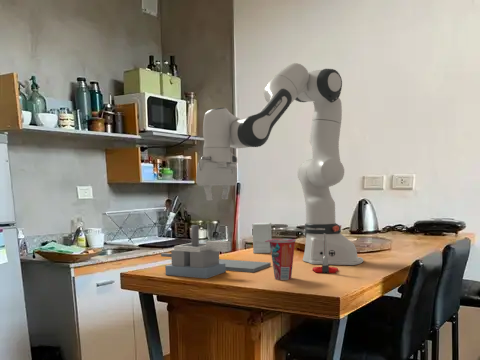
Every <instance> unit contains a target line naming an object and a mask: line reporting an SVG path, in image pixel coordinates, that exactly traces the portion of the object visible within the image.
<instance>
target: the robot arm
mask: <svg viewBox="0 0 480 360" xmlns="http://www.w3.org/2000/svg"><path fill="white" fill-rule="evenodd" d="M342 86H343V80H342V77H341V75H340V73H339V71H338V70H337V69H333V68H323V69H316V70H311V71H310V72H309V71H308V69H307V68H306V66H304V65H303V64H301V63H296V62H294V63H290V64H288V65H287V66H286V67H284V68H283V69H281V70H280V71H279V72H278V73H276V74H275V75H274V76H273V77H272V78H271V79H270V80H269V81H268V83H267V85H266V86H265V87H264V89H263V96H264V99H265V101H266V104H265V105H264V106H263V107H262V108H261V110H260V111H259V112H258V113H256V114H252V115H250V116H247V117H244V118H239V117H237V116H235V115H234V114H232V112H230V111H229V110H228V108H227V107H216V108H212V109H209V110H207V111H206V112H205V113H204V116H203V124H202V136H203V140H204V143H203V149H202V152H203V153H202V156H201V157H200V159H198V163H197V166H196V174H195V175H196V176H195V181H196V182H195V183H196V184H197V186H198V187H203V190H204V194H205V198H206V199H205V200H206V201H214V194H213V193H212V192H213V191H212V190H213V188H212V187H214V186H216V187H217V186H221V187H222V190H223V191H222V193H221V200H228V199H229V193H230V191H231V186H236V184H237V181H238V168H237V165H236V164H237V163H238V157H237V156H236V155H235V154H233V152H231V148H232V149H245V148H258V147H259V148H260V147H262V146H263V145H264V144H266V142H267V141H268V140H269V137H270V135H271V132H272V130H273V128H274V126H275V125H276V123H277V122H279V120H280V119H281V117H282V116H283V115H284V113H285V112H286V111H287V110H288V108H289V107H290V105H291V104H292V103H294V101H296V102H300V103H307V102H311V103H312V104H313V105H314V106H313V107H314V109H313V114H312V121H311V127H310V132H309V133H310V134H309V143H310V145H311V150H312V153H311V154H312V159H308V160H306V161H304V162H303V163H301V164H300V165H299V167H298V168H297V178H298V181H299V182H300V184H301V187H302V188H301V189H302V192H303V196H304V202H305V224H304V235H305V236H304V237H305V243H304V244H305V246H304V253H303V257H302V261H303V262H305V263H309V264H312V265H323V240H324V234H326V240H327V257H328V265H337V266H340V265H341V266H354V265H360V264H362V263H363V262H364V258H363V257H360V256H358V252H357V251H358V250H357V247H356V245H355V244H354V242H352V241H351V240H350V239H348V238H347V237H346V236H344V235H343V234H342V233H341V231H342V225H340V224H338V223H336V203H335V199H333V196H332V195H331V191H330V190H331V189H330V187H333V186H335V185H337V184H339V183H340V182H341V181H342V180H343V178H344V177H345V168H344V165H343V163H342V161H341V158H340V148H339V147H340V145H339V143H340V142H339V141H340V134H341V127H342V126H341V125H342V118H343V117H342V112H343V109H342V101H341V99H340V97H341V92H342V88H343V87H342Z"/></svg>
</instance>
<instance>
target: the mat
mask: <svg viewBox="0 0 480 360" xmlns="http://www.w3.org/2000/svg"><path fill="white" fill-rule="evenodd" d="M219 263H225V271H228V270H229V271H231V272H241V271H242V273H243V272H244V273H255V272H258V271H261V270H264V269H266V268H268V267H271V264H272V263H271V262H269V261H268V262H267V261H253V260H239V259H238V260H237V259H223V258H222V259H221V258H219Z"/></svg>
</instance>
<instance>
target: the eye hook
mask: <svg viewBox="0 0 480 360" xmlns="http://www.w3.org/2000/svg"><path fill="white" fill-rule="evenodd" d="M173 250H174V251H188V252H203V251H219V252H221V253H222V252H223V253H228V252H232V242H231V241H226V240H225V241H224V240H208V241H207V240H206V241H205V243H203V242H199V247H193V246H192V242H189V243H184V244H183V243H182V244H179V245H174V246H173Z"/></svg>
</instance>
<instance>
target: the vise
mask: <svg viewBox="0 0 480 360" xmlns="http://www.w3.org/2000/svg"><path fill="white" fill-rule="evenodd" d="M190 227H191V243H192V246H193V247H199V243H200V233H199V232H200V231H199V225H196V224H193V225H191V226H190ZM160 257H163V258H164V257H165V258H171V264H166V265H165V270H164V271H165V275H166V276H176V277H185V278H186V277H187V278H198V279H208V278H209V279H210V278H212V277H215V276H218V275H221V274H224V273H226V270H225V263H219V259H220V251H203V252H188V251H174V249H172V250H171V253H169V252H168V253H167V252H161V253H160Z"/></svg>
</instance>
